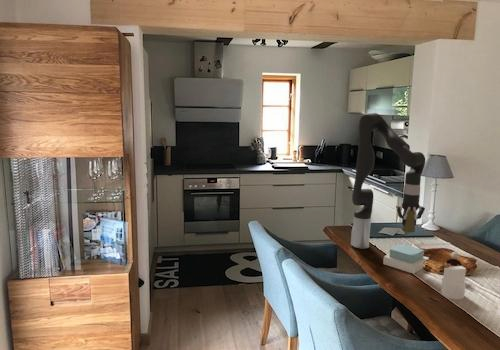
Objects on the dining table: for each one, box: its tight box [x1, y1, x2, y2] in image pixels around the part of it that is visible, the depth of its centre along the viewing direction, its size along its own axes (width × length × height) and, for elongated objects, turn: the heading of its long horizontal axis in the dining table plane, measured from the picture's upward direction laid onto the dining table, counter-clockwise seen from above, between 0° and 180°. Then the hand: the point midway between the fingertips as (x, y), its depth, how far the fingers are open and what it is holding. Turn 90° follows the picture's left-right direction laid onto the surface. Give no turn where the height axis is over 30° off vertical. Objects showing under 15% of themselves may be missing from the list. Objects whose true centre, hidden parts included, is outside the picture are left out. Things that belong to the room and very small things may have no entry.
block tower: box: [382, 243, 430, 275], centre depth 205 cm, size 16×16×8 cm
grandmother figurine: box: [443, 251, 463, 267], centre depth 190 cm, size 8×4×13 cm, turn 71°
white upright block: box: [440, 265, 467, 300], centre depth 173 cm, size 9×9×12 cm
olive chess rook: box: [401, 210, 416, 233], centre depth 202 cm, size 6×6×11 cm
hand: (408, 226), depth 203 cm, fingers closed on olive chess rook, 4 cm apart
